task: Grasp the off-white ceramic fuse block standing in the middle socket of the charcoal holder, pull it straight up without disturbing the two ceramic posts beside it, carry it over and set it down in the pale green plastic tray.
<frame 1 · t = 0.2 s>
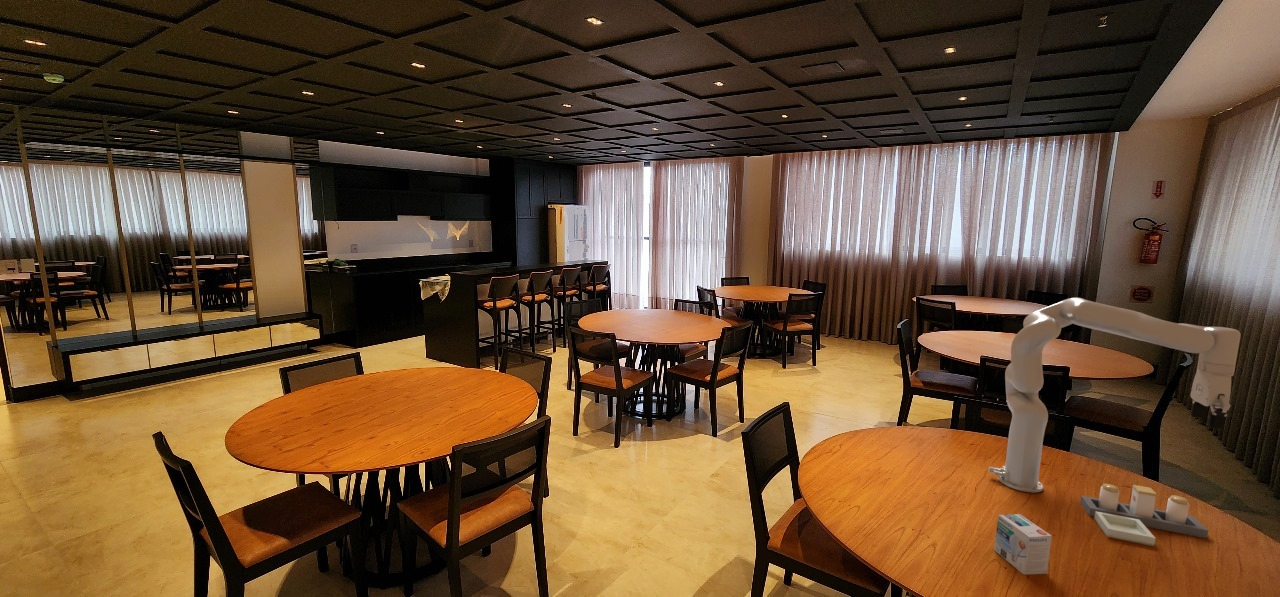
hand: (1206, 422, 158), 31 cm above the table, fingers open, 9 cm apart
post 1: (1106, 513, 163), resting in holder
tray: (1122, 531, 153), on the table
post 2: (1174, 526, 157), resting in holder
holder: (1139, 519, 160), on the table
fuse: (1142, 504, 159), in the holder
light bulb box: (1019, 562, 139), on the table
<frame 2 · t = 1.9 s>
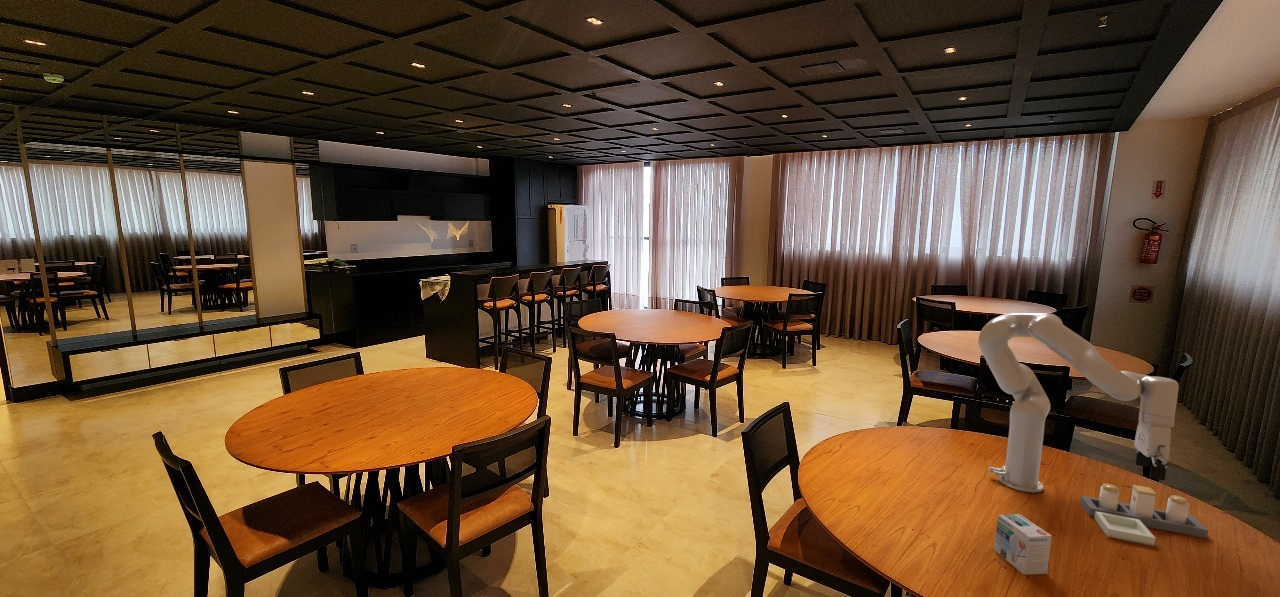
hand: (1149, 472, 158), 16 cm above the table, fingers open, 9 cm apart
nothing on the table moved.
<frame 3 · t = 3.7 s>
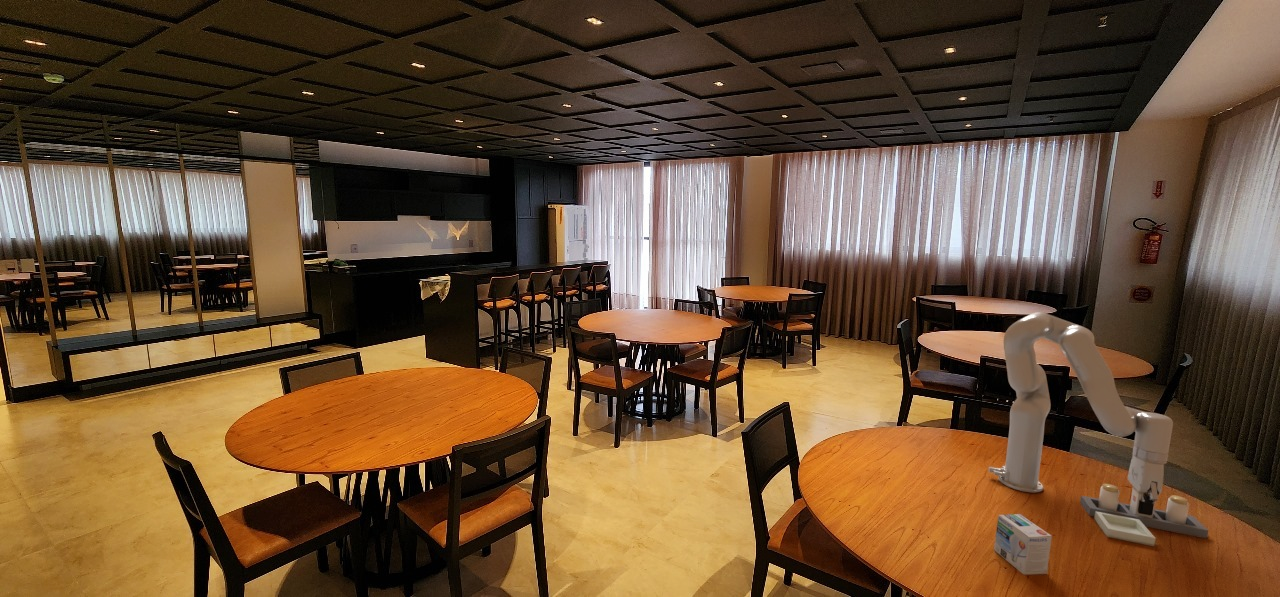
hand: (1141, 509, 160), 3 cm above the table, fingers closed on fuse, 4 cm apart
fuse: (1142, 504, 159), in the holder, touching gripper
everything else where it was.
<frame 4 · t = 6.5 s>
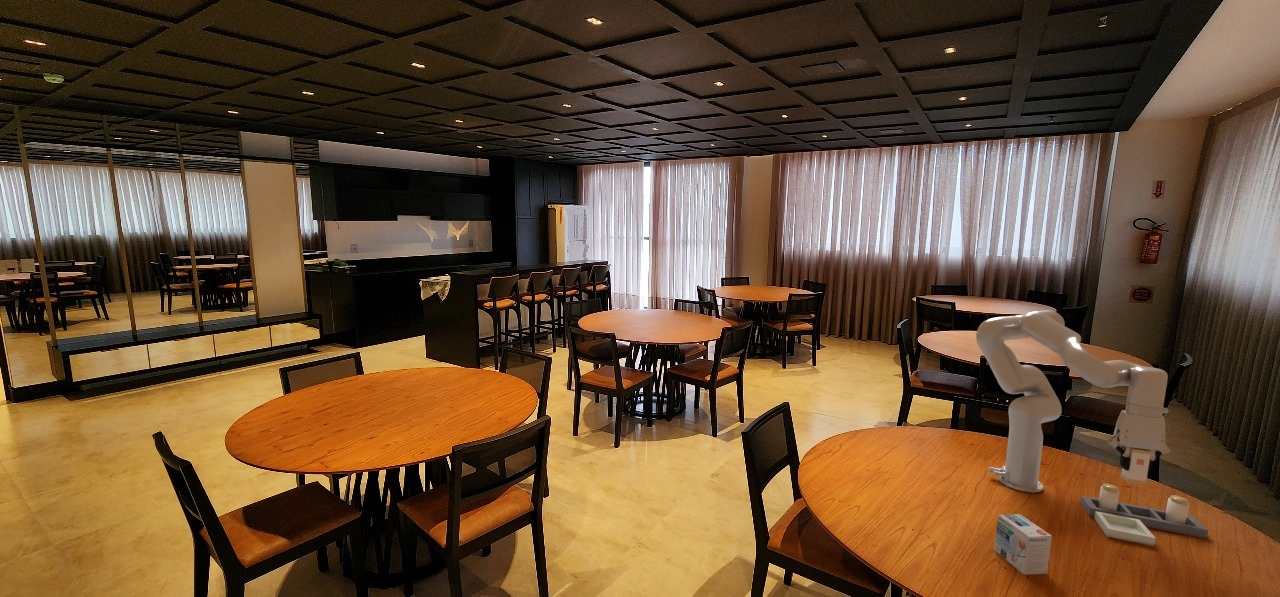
hand: (1134, 469, 151), 19 cm above the table, fingers closed on fuse, 4 cm apart
fuse: (1135, 463, 151), point 21 cm above the table, touching gripper
everything else where it was.
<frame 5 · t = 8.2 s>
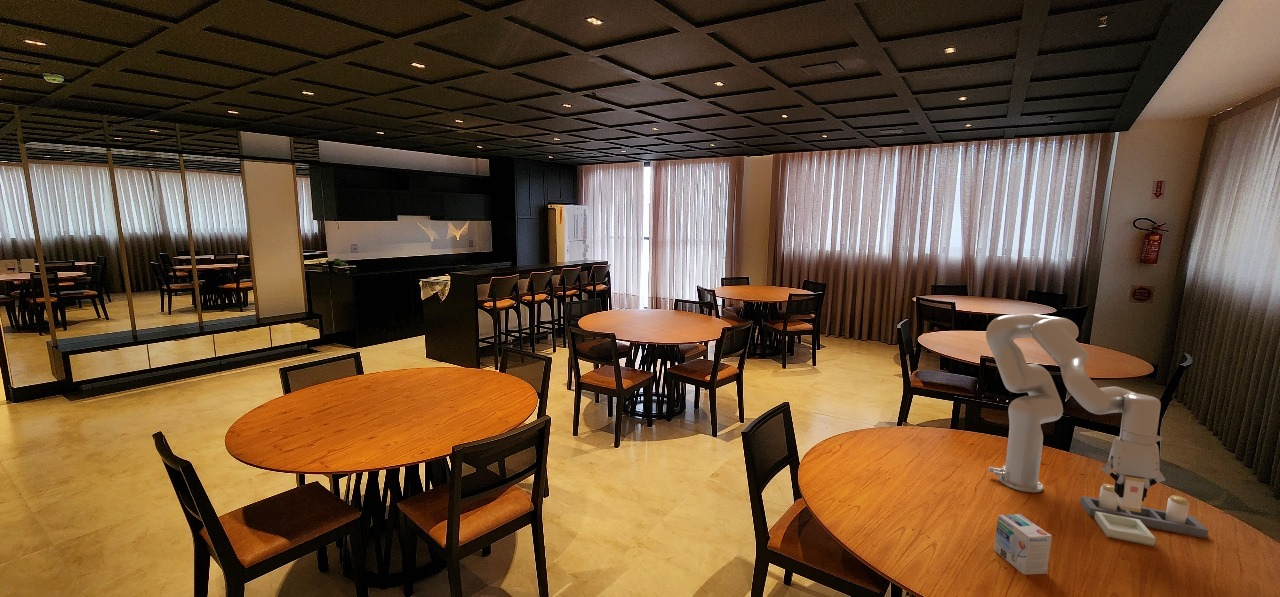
hand: (1129, 496, 152), 11 cm above the table, fingers closed on fuse, 4 cm apart
fuse: (1130, 491, 151), point 13 cm above the table, touching gripper
everything else where it was.
when the fingers open (5 cm above the table, at t = 9.7 s): fuse stays where it is, resting on tray.
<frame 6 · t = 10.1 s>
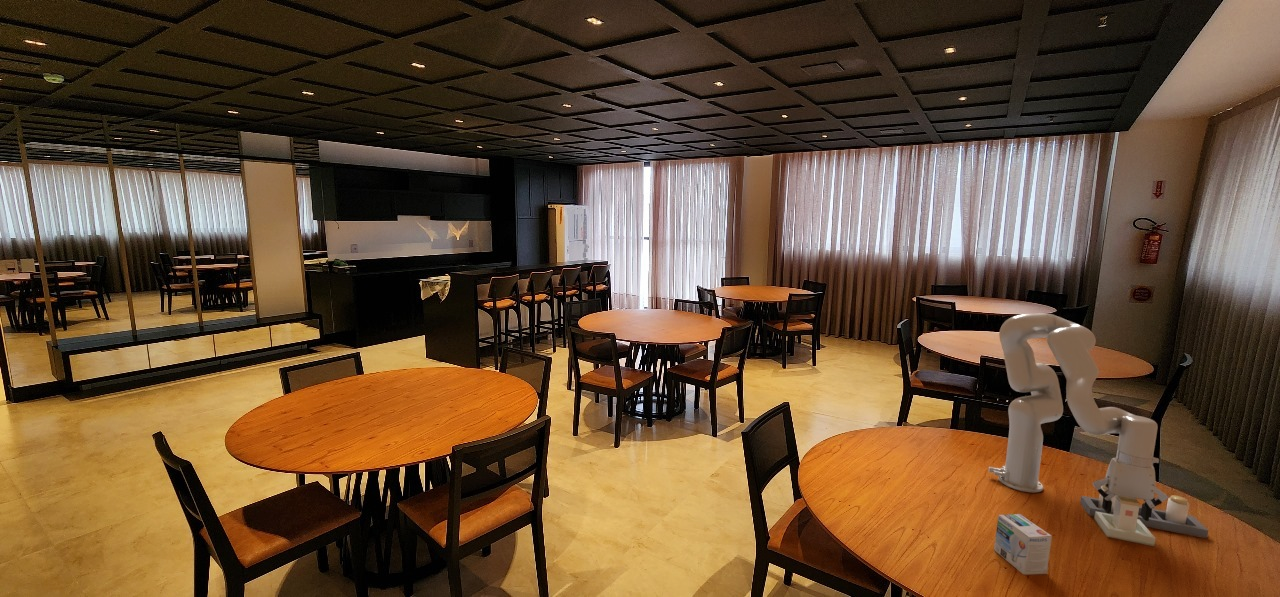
hand: (1125, 514, 153), 5 cm above the table, fingers open, 8 cm apart
fuse: (1125, 514, 153), in the tray
everything else where it was.
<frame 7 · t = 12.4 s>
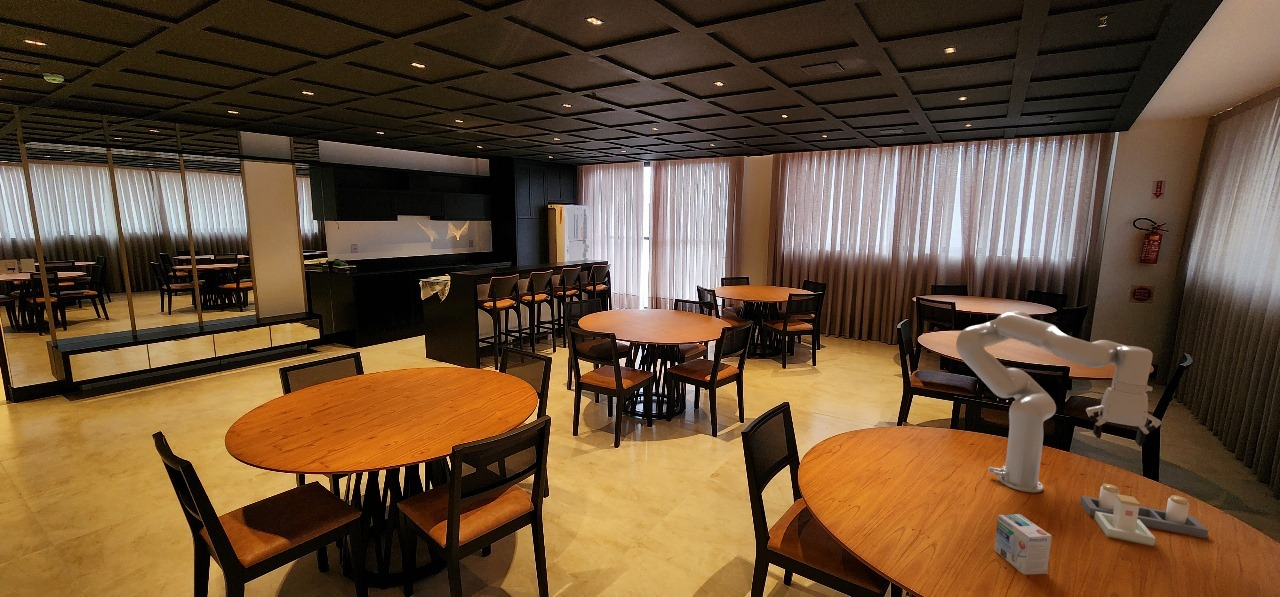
hand: (1117, 440, 159), 25 cm above the table, fingers open, 9 cm apart
nothing on the table moved.
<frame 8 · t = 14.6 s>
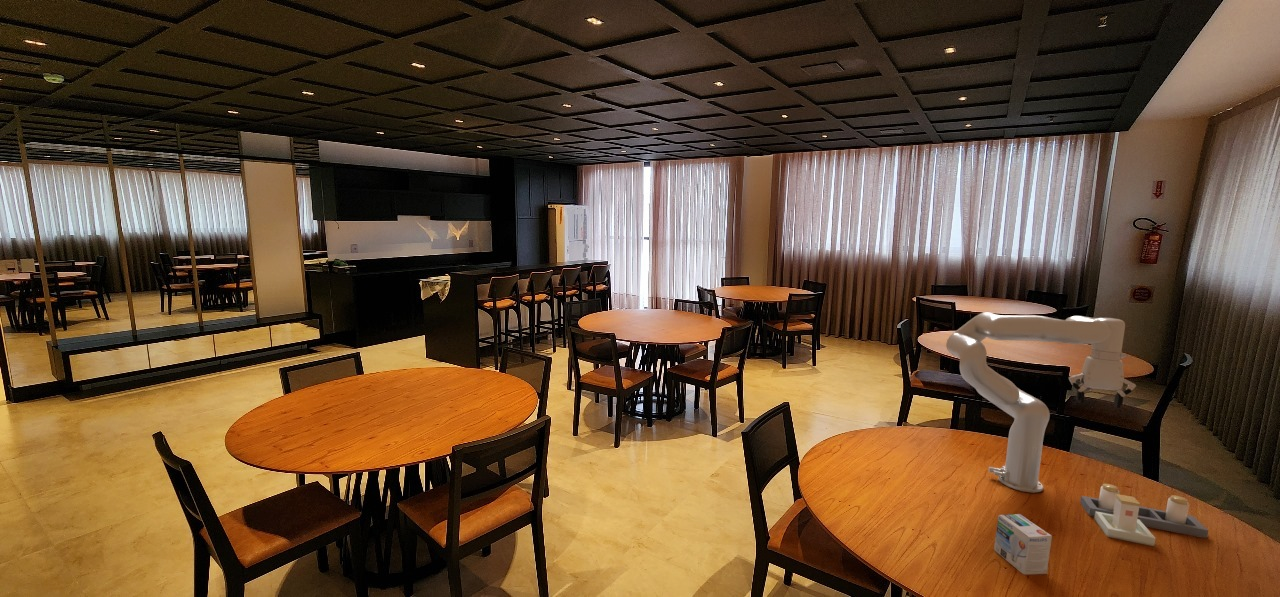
hand: (1098, 404, 174), 30 cm above the table, fingers open, 9 cm apart
nothing on the table moved.
at the end: fuse inside the target area on the tray (0.0 cm from its centre), point 5.5 cm above the tray's base; post 1 moved 0.0 cm from its start; post 2 moved 0.0 cm from its start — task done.
